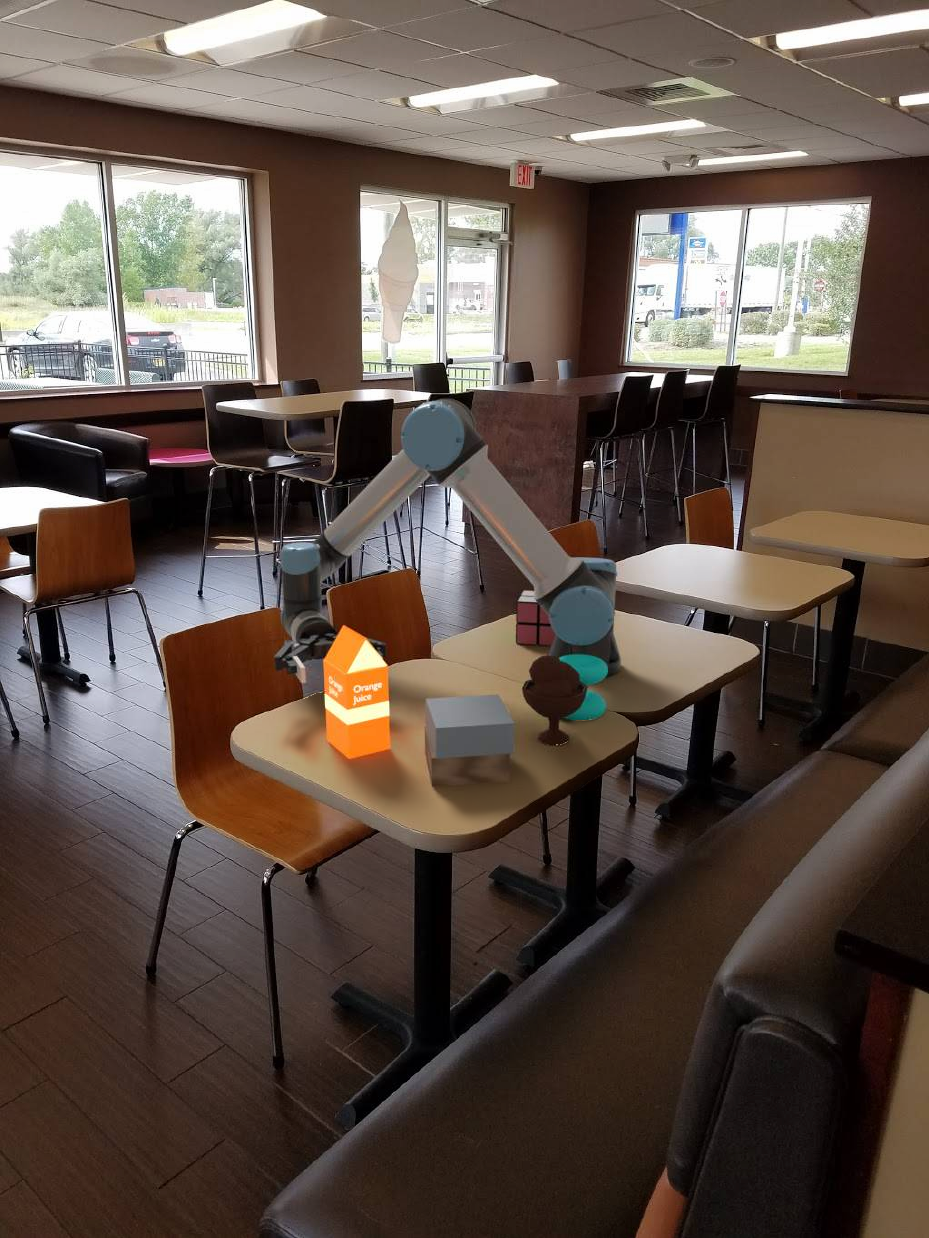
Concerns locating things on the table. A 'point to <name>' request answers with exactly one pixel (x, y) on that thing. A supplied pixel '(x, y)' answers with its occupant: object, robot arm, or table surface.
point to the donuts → (589, 674)
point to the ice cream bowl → (553, 694)
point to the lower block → (466, 768)
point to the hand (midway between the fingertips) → (342, 670)
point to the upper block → (469, 726)
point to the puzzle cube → (532, 622)
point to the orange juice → (356, 696)
